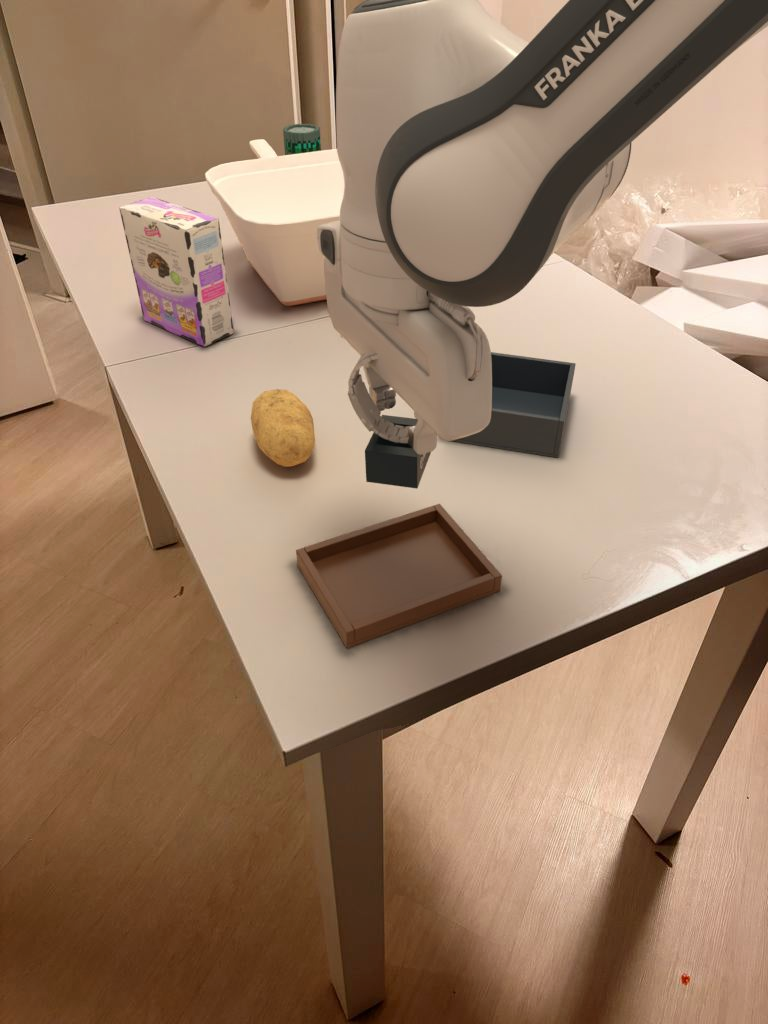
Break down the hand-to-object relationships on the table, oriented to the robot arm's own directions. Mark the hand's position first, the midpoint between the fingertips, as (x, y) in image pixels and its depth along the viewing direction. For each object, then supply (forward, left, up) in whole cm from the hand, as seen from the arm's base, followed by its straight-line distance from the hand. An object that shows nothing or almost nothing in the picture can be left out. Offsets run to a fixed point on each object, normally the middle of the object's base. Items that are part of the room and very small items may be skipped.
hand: (401, 425), depth 65 cm
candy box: (+42, -41, -17) cm, 61 cm away
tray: (0, 0, -17) cm, 17 cm away
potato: (+17, -16, -17) cm, 29 cm away
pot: (+34, -68, -17) cm, 78 cm away
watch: (0, 0, -4) cm, 4 cm away
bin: (-6, -30, -17) cm, 35 cm away
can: (+41, -88, -17) cm, 98 cm away
